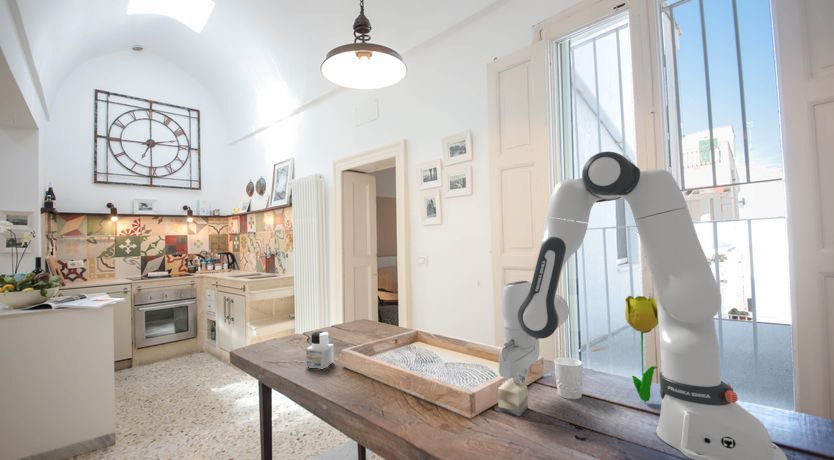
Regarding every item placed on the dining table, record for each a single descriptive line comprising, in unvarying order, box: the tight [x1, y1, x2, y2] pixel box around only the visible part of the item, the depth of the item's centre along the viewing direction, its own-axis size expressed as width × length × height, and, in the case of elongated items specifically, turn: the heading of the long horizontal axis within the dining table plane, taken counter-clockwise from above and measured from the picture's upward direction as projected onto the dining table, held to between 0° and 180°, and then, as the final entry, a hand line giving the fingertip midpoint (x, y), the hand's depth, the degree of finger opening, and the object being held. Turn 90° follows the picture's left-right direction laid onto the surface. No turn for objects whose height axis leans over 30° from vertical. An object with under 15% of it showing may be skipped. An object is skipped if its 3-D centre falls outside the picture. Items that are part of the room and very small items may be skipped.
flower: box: [624, 295, 659, 403], centre depth 104 cm, size 9×8×30 cm
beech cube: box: [497, 381, 529, 417], centre depth 102 cm, size 6×6×6 cm
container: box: [305, 330, 335, 369], centre depth 142 cm, size 8×8×13 cm
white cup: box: [553, 356, 583, 400], centre depth 110 cm, size 8×8×10 cm
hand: (520, 384), depth 106 cm, fingers open, 3 cm apart
